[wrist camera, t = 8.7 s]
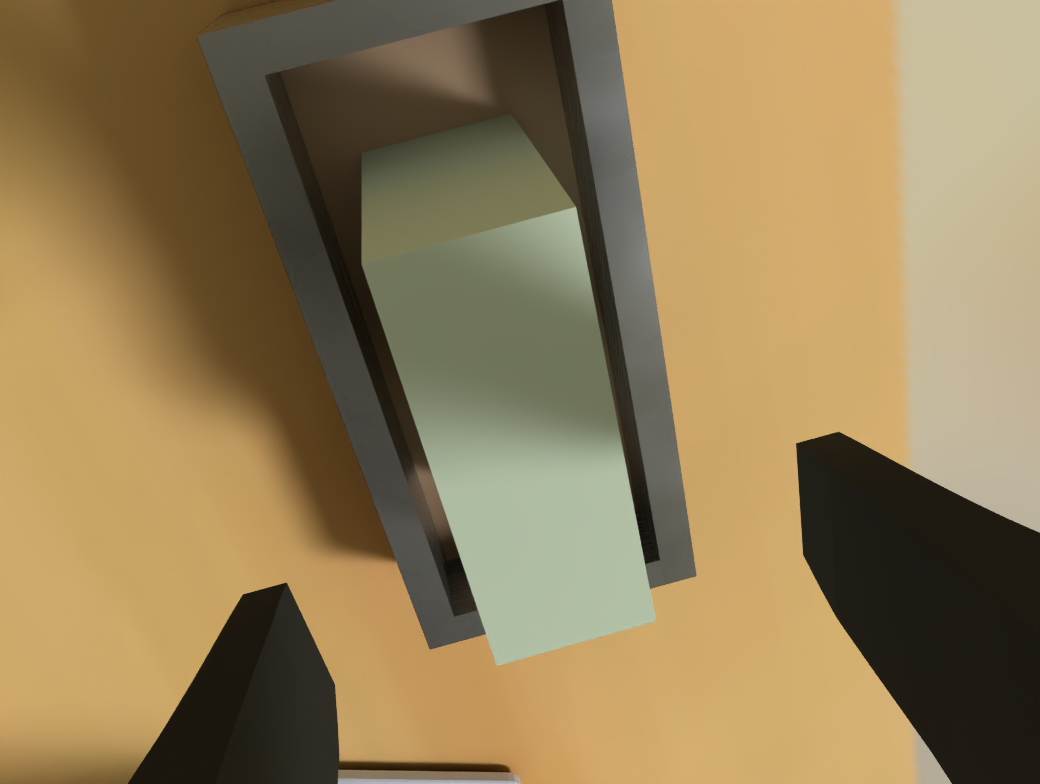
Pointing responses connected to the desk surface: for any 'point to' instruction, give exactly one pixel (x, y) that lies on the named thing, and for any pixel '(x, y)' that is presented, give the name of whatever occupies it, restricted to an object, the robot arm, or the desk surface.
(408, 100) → the grey rectangular tray
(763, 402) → the desk surface
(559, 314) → the pale green rectangular block
